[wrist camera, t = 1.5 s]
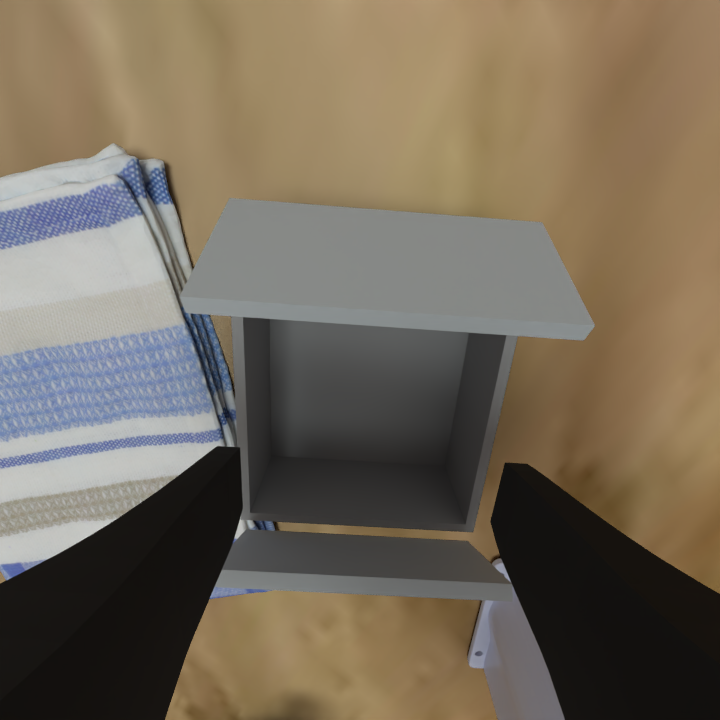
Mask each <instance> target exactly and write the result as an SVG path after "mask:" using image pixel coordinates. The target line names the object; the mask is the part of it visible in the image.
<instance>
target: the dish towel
mask: <svg viewBox="0 0 720 720" xmlns="http://www.w3.org/2000/svg"><path fill="white" fill-rule="evenodd" d="M192 271H193V269H192V265H191V262H190V258H189V255H188V252H187V249H186V245H185V242H184V237H183V234H182V230H181V225H180V221H179V218H178V214H177V211H176V208H175V206H174V203H173V201H172V199H171V196H170V194H169V191H168V184H167V179H166V173H165V166H164V162H163V161H162V160H159V159H154V158H152V159H147V160H139V159H137V158H136V157H135V156H129V155H128V154H127V152H126V151H125V150H124V149H123V148H122V147H120V146H118V145H116V144H115V143H112V144H111V145H109V146H108V147H106V148H105V149H103V150H102V151H100V152H99V153H98V154H97V155H95V156H93V157H90V158H84V159H75V160H71V161H67V162H60V163H55V164H50V165H46V166H42V167H39V168H36V169H32V170H29V171H26V172H20V173H14V174H10V175H7V176H4V177H1V178H0V571H1V572H2V574H3V576H4V578H5V579H6V580H8V579H10V578H12V577H14V576H16V575H18V574H20V573H22V572H24V571H26V570H28V569H30V568H32V567H34V566H36V565H37V564H39V563H41V562H43V561H45V560H47V559H49V558H51V557H53V556H55V555H57V554H59V553H60V552H62V551H64V550H66V549H68V548H69V547H71V546H73V545H75V544H76V543H78V542H80V541H81V540H83V539H85V538H87V537H88V536H90V535H92V534H93V533H95V532H97V531H98V530H100V529H102V528H103V527H105V526H106V525H108V524H110V523H111V522H113V521H114V520H116V519H117V518H119V517H120V516H122V515H123V514H125V513H126V512H128V511H129V510H131V509H132V508H134V507H135V506H137V505H138V504H139V503H141V502H142V501H144V500H145V499H147V498H148V497H150V496H151V495H153V494H154V493H156V492H157V491H158V490H160V489H161V488H162V487H164V486H165V485H166V484H168V483H169V482H170V481H172V480H173V479H174V478H176V477H177V476H178V475H180V474H181V473H182V472H184V471H185V470H186V469H188V468H189V467H190V466H192V465H193V464H194V463H195V462H197V461H198V460H199V459H201V458H202V457H203V456H205V455H206V454H207V453H208V452H210V451H211V450H212V449H214V448H215V447H217V446H226V447H237V426H236V405H235V397H234V394H233V388H232V382H231V379H230V376H229V372H228V366H227V364H226V362H225V360H224V357H223V351H222V349H221V346H220V344H219V340H218V337H217V334H216V332H215V330H214V327H213V322H212V320H211V318H210V315H207V314H192V313H186V312H185V309H184V307H183V304H182V302H181V299H180V295H181V293H182V291H183V289H184V287H185V285H186V283H187V281H188V279H189V277H190V275H191V273H192ZM246 529H251V530H270V531H275V527H274V524H273V521H254V520H241V517H240V521H239V524H238V528H237V531H236V534H235V538H234V541H233V543H234V542H235V541H236V540H237V539H238V538H239V537H240V535H241V534H242V533H243V532H244V531H245V530H246ZM267 591H272V590H262V589H241V588H221V587H214V589H213V592H212V594H211V596H210V599H213V598H220V597H227V596H234V595H241V594H248V593H255V592H267Z"/></svg>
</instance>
